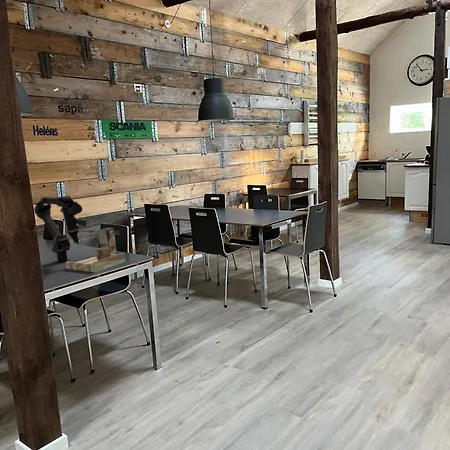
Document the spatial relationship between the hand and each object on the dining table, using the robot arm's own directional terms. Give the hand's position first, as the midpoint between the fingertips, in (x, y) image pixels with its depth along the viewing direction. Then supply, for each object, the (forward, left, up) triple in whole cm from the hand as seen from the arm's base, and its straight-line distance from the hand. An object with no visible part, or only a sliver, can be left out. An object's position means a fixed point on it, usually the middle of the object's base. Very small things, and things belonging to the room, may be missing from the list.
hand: (77, 243), depth 260 cm
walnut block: (+18, +5, -10) cm, 21 cm away
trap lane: (+11, +4, -12) cm, 17 cm away
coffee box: (-6, +25, -12) cm, 29 cm away
